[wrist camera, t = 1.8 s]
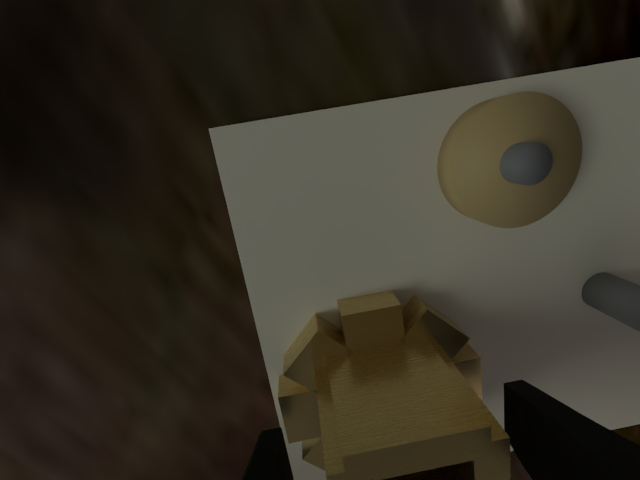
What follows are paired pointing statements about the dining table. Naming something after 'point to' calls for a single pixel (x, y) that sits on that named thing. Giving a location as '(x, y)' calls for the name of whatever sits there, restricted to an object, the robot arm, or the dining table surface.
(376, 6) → the dining table surface
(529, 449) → the robot arm
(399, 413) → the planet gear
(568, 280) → the plate
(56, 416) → the dining table surface
